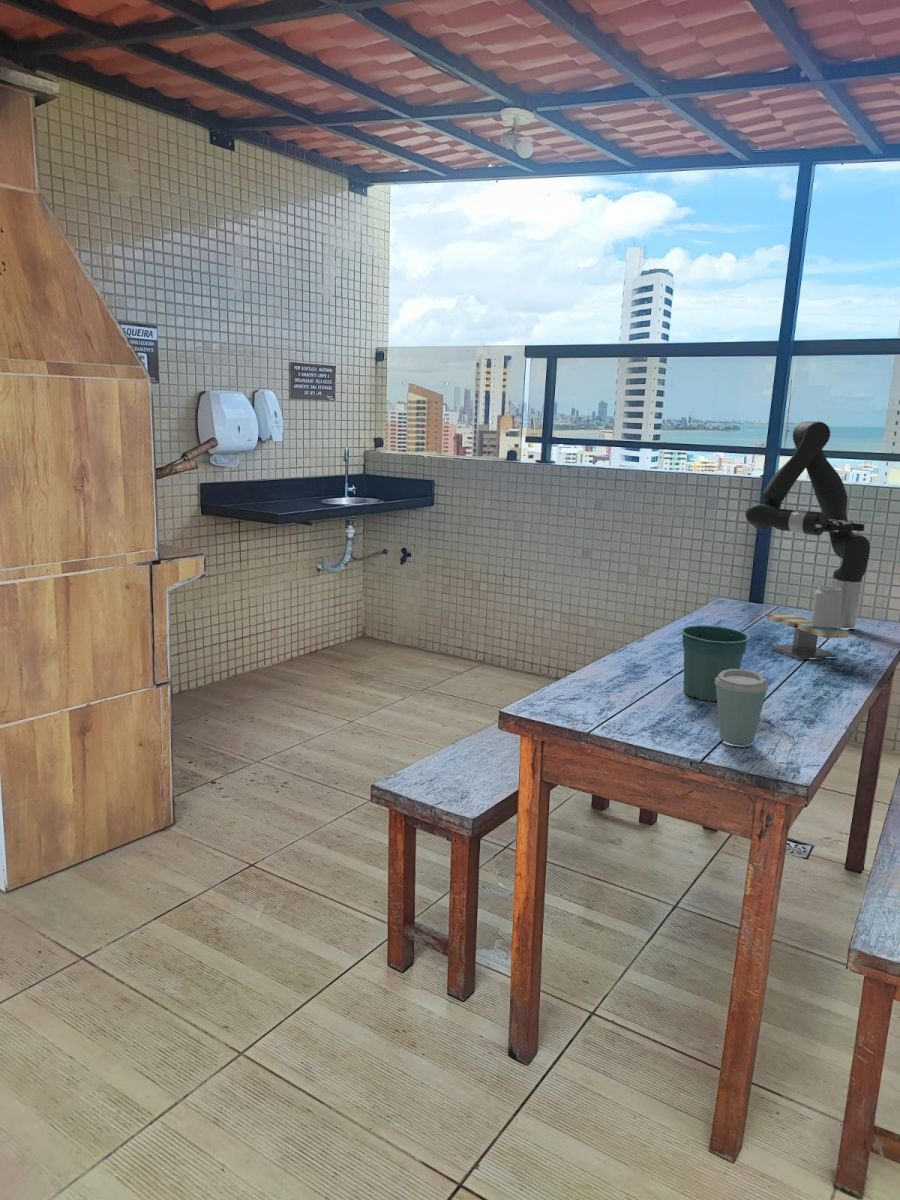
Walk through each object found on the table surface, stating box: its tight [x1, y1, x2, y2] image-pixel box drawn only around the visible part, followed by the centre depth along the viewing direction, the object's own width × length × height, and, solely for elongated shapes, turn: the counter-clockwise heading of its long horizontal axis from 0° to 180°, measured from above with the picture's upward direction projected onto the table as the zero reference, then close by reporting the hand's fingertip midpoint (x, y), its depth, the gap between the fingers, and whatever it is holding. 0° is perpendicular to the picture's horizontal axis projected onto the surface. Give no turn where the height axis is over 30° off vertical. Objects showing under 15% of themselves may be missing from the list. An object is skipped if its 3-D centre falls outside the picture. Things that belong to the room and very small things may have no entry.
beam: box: [766, 612, 850, 639], centre depth 255 cm, size 26×10×2 cm, turn 17°
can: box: [810, 585, 843, 630], centre depth 246 cm, size 8×8×12 cm
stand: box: [771, 628, 838, 660], centre depth 256 cm, size 12×14×8 cm
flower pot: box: [680, 624, 751, 702], centre depth 209 cm, size 16×16×16 cm
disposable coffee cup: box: [715, 668, 769, 746], centre depth 177 cm, size 11×11×15 cm
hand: (858, 528), depth 259 cm, fingers open, 8 cm apart
